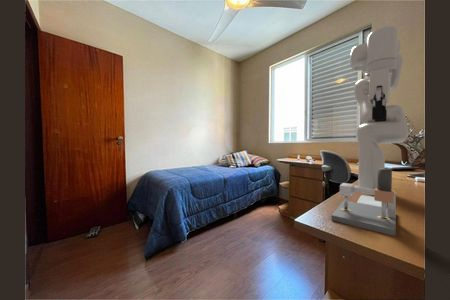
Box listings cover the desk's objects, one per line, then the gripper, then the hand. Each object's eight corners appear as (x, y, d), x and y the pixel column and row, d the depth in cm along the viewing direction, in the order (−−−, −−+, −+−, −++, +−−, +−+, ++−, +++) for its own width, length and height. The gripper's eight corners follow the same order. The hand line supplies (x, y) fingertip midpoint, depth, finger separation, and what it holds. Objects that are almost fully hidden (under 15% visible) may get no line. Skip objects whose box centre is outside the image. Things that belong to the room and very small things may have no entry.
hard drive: (360, 194, 75) (356, 202, 66) (387, 198, 70) (386, 207, 61) (360, 198, 76) (356, 206, 66) (387, 203, 70) (386, 212, 61)
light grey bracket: (342, 206, 61) (342, 182, 61) (395, 216, 52) (395, 189, 52) (339, 210, 58) (339, 185, 57) (395, 222, 49) (395, 192, 48)
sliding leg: (374, 213, 54) (375, 167, 53) (393, 216, 51) (394, 169, 51) (374, 216, 52) (375, 169, 51) (393, 220, 49) (394, 170, 48)
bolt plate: (343, 204, 67) (343, 200, 67) (395, 214, 58) (395, 209, 58) (331, 220, 54) (331, 214, 54) (395, 236, 45) (395, 229, 45)
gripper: (369, 78, 69) (368, 123, 70) (363, 64, 57) (362, 119, 57) (396, 72, 64) (394, 121, 65) (396, 56, 51) (394, 117, 52)
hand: (379, 120), depth 61 cm, fingers open, 9 cm apart
